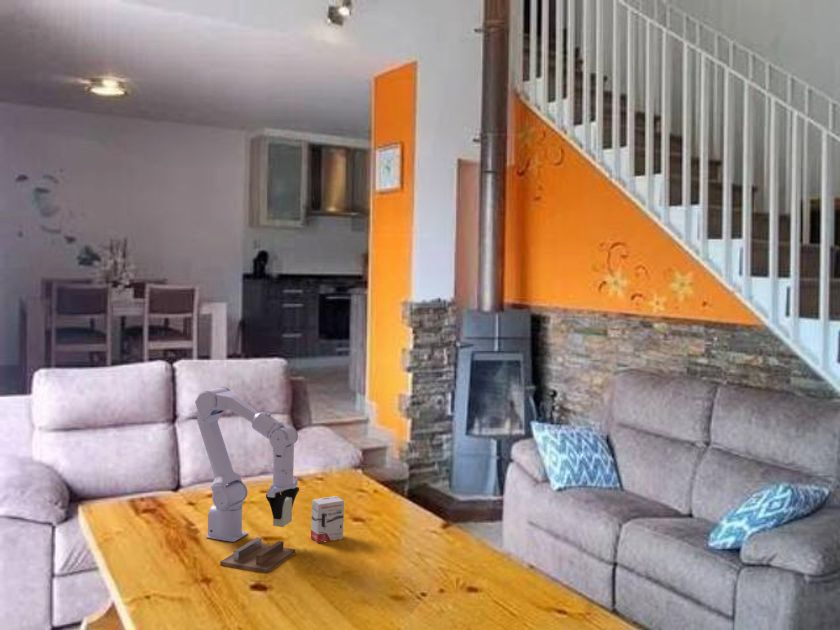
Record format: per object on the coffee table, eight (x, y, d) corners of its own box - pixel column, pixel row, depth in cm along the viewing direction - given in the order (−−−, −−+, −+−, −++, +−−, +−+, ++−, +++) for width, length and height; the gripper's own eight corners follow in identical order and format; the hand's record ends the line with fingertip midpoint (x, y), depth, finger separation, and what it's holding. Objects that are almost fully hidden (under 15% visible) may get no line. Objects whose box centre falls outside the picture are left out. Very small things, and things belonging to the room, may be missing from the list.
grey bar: (233, 560, 209) (233, 551, 209) (256, 546, 220) (257, 537, 220) (238, 561, 208) (238, 552, 208) (261, 546, 220) (261, 538, 219)
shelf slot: (220, 565, 208) (220, 552, 208) (251, 545, 223) (252, 533, 223) (266, 573, 203) (266, 560, 203) (295, 552, 218) (295, 540, 218)
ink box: (317, 543, 226) (318, 503, 226) (310, 538, 230) (311, 499, 230) (343, 538, 231) (344, 499, 230) (336, 534, 235) (337, 495, 234)
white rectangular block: (273, 525, 221) (273, 501, 220) (282, 519, 226) (282, 496, 226) (282, 527, 220) (283, 502, 220) (291, 521, 225) (292, 497, 225)
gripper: (283, 476, 214) (282, 525, 215) (307, 464, 228) (306, 510, 229) (260, 473, 216) (260, 521, 217) (285, 461, 230) (284, 507, 231)
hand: (282, 515), depth 223 cm, fingers closed on white rectangular block, 5 cm apart
